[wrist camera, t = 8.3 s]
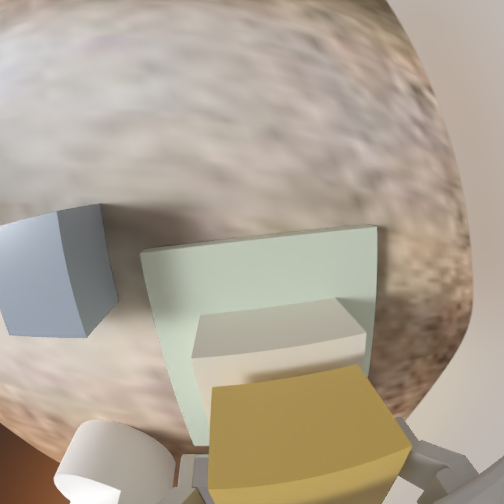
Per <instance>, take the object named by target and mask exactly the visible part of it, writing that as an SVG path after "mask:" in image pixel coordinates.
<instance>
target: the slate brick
mask: <svg viewBox="0 0 504 504" xmlns="http://www.w3.org/2000/svg"><path fill="white" fill-rule="evenodd" d="M117 303H118V297H117V292H116V288H115V284H114V279H113V275H112V270H111V265H110V260H109V255H108V250H107V244H106V239H105V233H104V226H103V220H102V213H101V205H100V204H94V205H88V206H82V207H77V208H71V209H66V210H60V211H55V212H51V213H47V214H43V215H39V216H35V217H31V218H27V219H23V220H20V221H16V222H12V223H9V224H5V225H2V226H0V310H1V313H2V316H3V319H4V322H5V325H6V327H7V330H8V333H9V335H14V336H31V337H58V338H87V337H88V336H89V335H90V333H91V332H92V331H93V330H94V329H95V327H96V326H97V325H98V324H99V323H100V322H101V321H102V319H103V318H104V317H105V316H106V315H107V314H108V313H109V311H110V310H111V309H112V308H113V307H114V306H115V305H116V304H117Z"/></svg>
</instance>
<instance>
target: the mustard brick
mask: <svg viewBox="0 0 504 504" xmlns="http://www.w3.org/2000/svg"><path fill="white" fill-rule="evenodd" d="M412 446H413V445H412V444H411V442H410V441H409V439H408V438H407V436H406V435H405V433H404V432H403V430H402V429H401V427H400V426H399V424H398V423H397V421H396V420H395V418H394V417H393V415H392V414H391V412H390V411H389V409H388V408H387V406H386V405H385V403H384V402H383V400H382V399H381V398H380V396H379V395H378V393H377V392H376V390H375V389H374V387H373V386H372V384H371V383H370V381H369V380H368V378H367V377H366V376H365V374H364V373H363V371H362V370H361V368H360V367H359V365H358V364H355V365H351V366H347V367H342V368H338V369H333V370H329V371H324V372H319V373H314V374H308V375H303V376H297V377H291V378H285V379H279V380H272V381H265V382H257V383H249V384H240V385H230V386H218V387H212V396H211V414H210V436H209V461H208V491H209V493H210V495H211V497H212V499H213V501H214V503H215V504H382V502H383V501H384V499H385V497H386V496H387V494H388V492H389V491H390V489H391V487H392V485H393V483H394V482H395V480H396V478H397V476H398V474H399V472H400V470H401V468H402V466H403V464H404V462H405V460H406V458H407V456H408V454H409V452H410V450H411V448H412Z"/></svg>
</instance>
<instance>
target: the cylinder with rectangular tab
mask: <svg viewBox="0 0 504 504" xmlns="http://www.w3.org/2000/svg"><path fill="white" fill-rule="evenodd" d="M175 464H176V463H175V461H174V458H173V456H172V454H171V453H170V452H169V451H168V450H167V448H166V447H164V446H163V445H162V444H161V443H159V442H158V441H157V440H156V439H154V438H152V437H150V436H149V435H147V434H145V433H144V432H141V431H139V430H137V429H134V428H132V427H130V426H127V425H124V424H120V423H117V422H114V421H107V420H89V421H87V422H84V423H82V424H81V425H80V426H79V428H78V429H77V431H76V433H75V435H74V437H73V439H72V441H71V443H70V445H69V447H68V449H67V451H66V453H65V455H64V457H63V459H62V461H61V463H60V466H59V468H58V470H57V472H56V474H55V476H54V483H55V485H56V487H57V488H58V489H59V490H60V492H61V493H62V494H63V495H64V496H65V497H66V498H68V499H69V500H70V501H71V502H70V504H157V503H158V502H159V501H160V500H161V499H162V498H163V497H164V496H165V495H166V494H167V493H168V492H169V491H170V490H171V489H172V487H173V480H174V473H175Z"/></svg>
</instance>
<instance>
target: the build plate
mask: <svg viewBox="0 0 504 504" xmlns="http://www.w3.org/2000/svg"><path fill="white" fill-rule="evenodd" d="M140 258H141V264H142V269H143V274H144V279H145V284H146V289H147V293H148V298H149V302H150V306H151V311H152V315H153V319H154V323H155V327H156V331H157V335H158V338H159V342H160V346H161V349H162V353H163V356H164V360H165V363H166V367H167V370H168V373H169V376H170V380H171V383H172V386H173V389H174V392H175V395H176V398H177V401H178V404H179V407H180V410H181V413H182V415H183V418H184V421H185V424H186V426H187V429H188V432H189V434H190V437H191V439H192V442H193V444H194V446H209V436H210V426H209V423H208V420H207V416H206V413H205V409H204V406H203V402H202V399H201V395H200V391H199V388H198V384H197V380H196V376H195V373H194V369H193V365H192V361H191V356H192V351H193V346H194V341H195V336H196V331H197V327H198V322H199V317H200V315H204V314H215V313H224V312H233V311H242V310H250V309H259V308H267V307H274V306H282V305H289V304H296V303H303V302H309V301H316V300H322V299H329V298H336V299H337V300H338V302H339V303H340V304H341V305H342V306H343V307H344V308H345V309H346V310H347V311H348V313H349V314H350V315H351V316H352V317H353V318H354V319H355V320H356V321H357V323H358V324H359V325H360V326H361V327H362V328H363V329H364V330H365V331H366V333H367V334H366V345H365V355H364V364H363V373H364V374H365V376H366V377H367V378H368V373H369V366H370V358H371V350H372V341H373V330H374V319H375V304H376V285H377V227H376V226H373V225H370V224H365V225H355V226H345V227H335V228H325V229H315V230H305V231H296V232H286V233H277V234H268V235H259V236H250V237H241V238H232V239H223V240H215V241H206V242H198V243H190V244H181V245H173V246H165V247H157V248H149V249H145V250H143V251H142V252H141V253H140Z"/></svg>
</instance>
